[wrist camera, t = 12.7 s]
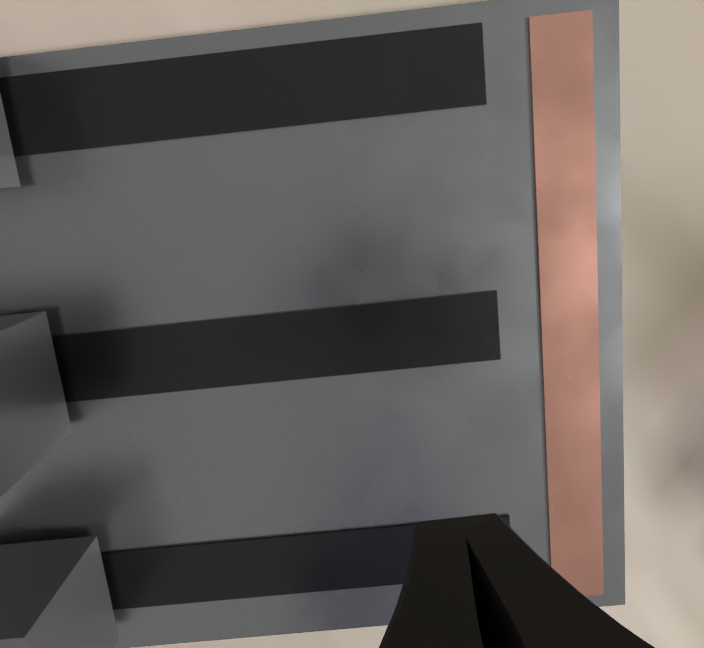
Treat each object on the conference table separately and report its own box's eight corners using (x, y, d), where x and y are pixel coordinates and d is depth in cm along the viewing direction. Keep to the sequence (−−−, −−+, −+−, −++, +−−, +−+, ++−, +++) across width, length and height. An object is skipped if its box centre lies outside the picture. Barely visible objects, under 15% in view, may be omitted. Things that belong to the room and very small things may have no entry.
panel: (607, 575, 22) (626, 606, 20) (-83, 636, 23) (-115, 670, 21) (597, 1, 18) (620, -15, 16) (-245, 98, 19) (-300, 91, 17)
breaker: (120, 637, 20) (53, 772, 16) (-7, 648, 21) (-111, 785, 16) (98, 535, 20) (20, 646, 15) (-35, 547, 20) (-151, 661, 15)
